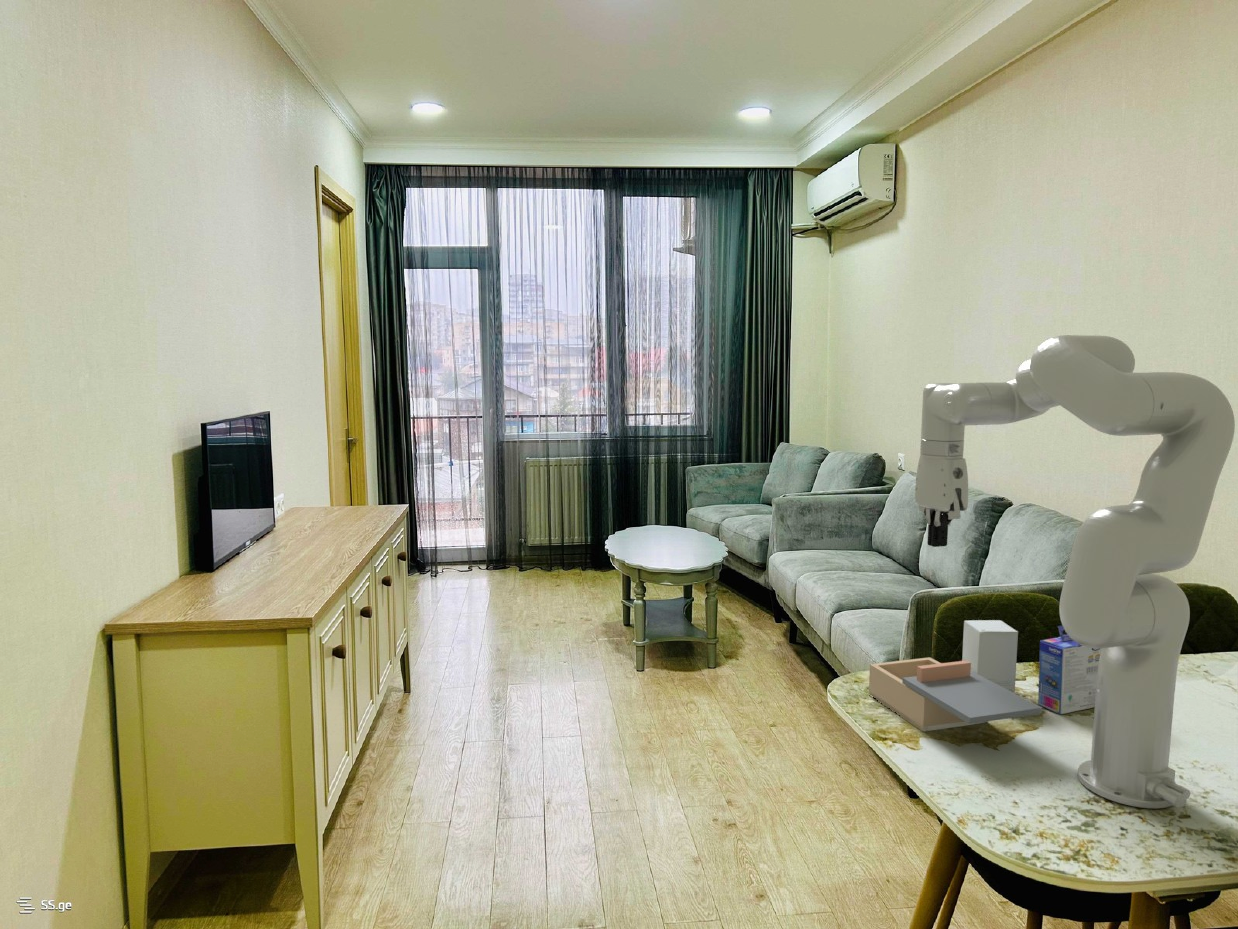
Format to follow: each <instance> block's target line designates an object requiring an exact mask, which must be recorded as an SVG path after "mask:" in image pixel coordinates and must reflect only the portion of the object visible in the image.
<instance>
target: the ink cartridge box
mask: <svg viewBox="0 0 1238 929" xmlns="http://www.w3.org/2000/svg"><path fill="white" fill-rule="evenodd" d="M1057 630H1058V633H1059V636H1058V637H1053V638H1047V639H1041V640H1040V641H1039V664H1038V665H1039V666H1038V667H1039V668H1038V669H1039V670H1038V697H1037V698H1038V699H1037V700H1038V701H1037V703H1038V704H1037V705H1038V706H1040V707H1042V708H1046V709H1048V710H1050V711H1052V712H1054V713H1057V714H1058V715H1064V714H1065V715H1066V714H1070V713H1074V712H1079V711H1082V710H1086V709H1093V708H1095V696H1096V682H1097V671H1098V663H1099V658H1100V655H1101V652H1102V649H1103V648H1089V647H1085V646H1082V645H1080V644H1078V643H1076V642H1075V641H1074V640H1073V639H1071V638H1070V637H1069V636H1068V634H1067V633H1063V632H1064V631H1065V629H1064V627H1063V625H1059V626H1058V625H1057Z"/></svg>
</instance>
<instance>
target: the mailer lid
mask: <svg viewBox="0 0 1238 929" xmlns="http://www.w3.org/2000/svg"><path fill="white" fill-rule="evenodd" d="M902 683H903V684H904V685H906V686H908V687H909V688H911V689H913V690H914V691H916V692H918V693H919V694H921V695H922V696H924V697H926V698H927V699H929V700H931V701H932V702H934V703H936V704H937V705H939V706H941V707H942V708H944V709H946V710H947V711H949V712H950V713H952V714H954V715H955V716H957V717H959V718H960V719H962V720H964V721H965V722H967V723H969V724H973V725H975V724H974V723H980V724H982V723H981V722H987V723H988V722H993V721H1000V720H1007V719H1008V720H1009V719H1014V718H1021V717H1029V716H1035V715H1041V714H1043V706H1041V705H1039V704H1037V703H1034V702H1032V701H1030V700H1028V699H1026V698H1024V697H1022V696H1021V695H1019V694H1017V693H1016V692H1015V693H1013V692H1011V691H1009V690H1007V689H1005V688H1003V687H1001V686H999V685H997V684H995V683H994V682H992V681H990V680H988V679H986V678H984V677H982V676H980V675H978V674H976V673H974V672H972V671H971V663H970V662H968V661H962V660H959V661H951V662H940V664H932V665H923V666H917V676H914V677H905V678H903V682H902Z"/></svg>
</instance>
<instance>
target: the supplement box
mask: <svg viewBox="0 0 1238 929" xmlns="http://www.w3.org/2000/svg"><path fill="white" fill-rule="evenodd" d="M962 635H963V636H962V637H963V638H962V659H961V661H968V662H970V663H971V671H972V672H974V673H976V674H978V675H980V676H982V677H984V678H986V679H988V680H990V681H992V682H994V683H995V684H997V685H999V686H1001V687H1003V688H1005V689H1007V690H1009V691H1011V692H1013V693H1015V694H1016V691H1015V690H1016V676H1017V674H1016V673H1017V660H1018V659H1017V656H1018V638H1019V637H1018V636H1019V631H1018V630H1016V629H1014V628H1013V627H1012V626H1010V625H1008V624H1007V623H1005V622H1004V621H1003V620H1000V619H998V620H997V619H996V620H995V619H992V620H991V619H988V620H987V619H986V620H984V619H983V620H982V619H978V620H977V619H976V620H975V619H972V620H964V621H963V634H962Z"/></svg>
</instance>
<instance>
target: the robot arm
mask: <svg viewBox="0 0 1238 929" xmlns="http://www.w3.org/2000/svg"><path fill="white" fill-rule="evenodd" d="M1135 367H1136V360H1135V355H1134V353H1133V351H1132V349H1131V348H1130V347H1129V345H1127V344H1126V343H1125V342H1123V341H1122V340H1120V339H1118V338H1115V337H1112V336H1107V335H1081V334H1080V335H1079V334H1077V335H1076V334H1074V335H1071V334H1070V335H1057V336H1054V337H1051V338H1049V339H1047V340H1045V341H1043V342H1042V343H1041V344H1039V346H1037V348H1035V350H1034V351H1033V354H1032V356H1031V357H1030V358H1029V359H1026V360H1025V361H1024V362H1022V363H1021V364H1020V365H1019V367H1018V369H1017V370H1016V373H1015V379H1013V380H1008V381H1003V382H994V381H993V382H987V381H986V382H959V383H957V382H955V383H954V382H933V383H928V384H927V385H925V387H924V388H923V390H922V403H921V404H922V407H921V408H922V409H921V411H922V412H921V430H920V452H919V453H920V455H919V458H918V463H917V469H916V475H915V476H916V477H915V484H914V485H915V487H914V490H915V491H914V499H915V500H914V501H915V502H916V504H918V510H919V511H921V512H922V513H924V515H925V521H926V524H927V525H928V527H927V546H930V547H933V548H939V547H947V546H948V534H949V533H948V532H949V527H950V526H951V524H952V521H953V520H958V519H959V520H960V519H961V516H962V514H961V512H964V511H967V510H968V506H969V474H968V466H967V460H966V458H964V446H965V445H964V444H965V430H966V429H965V427H966V426H984V425H985V426H987V425H992V426H993V425H994V426H995V425H1006V424H1012V423H1017V422H1021V421H1024V420H1028V419H1031V418H1036V417H1038V416H1041V415H1044V414H1045V413H1046V412H1048V411H1049V410H1050V409H1052V408H1054V407H1055V408H1056V407H1058V406H1061V407H1062V408H1064V410H1066V411H1067V412H1069V413H1070V414H1071V415H1073V416H1075V417H1076V418H1077V419H1079V420H1081V421H1082V422H1083V423H1085V424H1086V425H1088V426H1089V427H1090V428H1093V429H1094V430H1096V431H1098V432H1099V433H1103V434H1105V435H1110V436H1118V437H1126V436H1130V437H1131V436H1151V435H1161V436H1162V441H1161V443H1160V444H1159V445H1158V447H1157V448H1156V449H1155V450H1154V451H1153V453H1151V456H1150V457H1149V458H1148V459H1147V461H1146V463H1145V465H1144V467H1143V469H1142V472H1141V473H1140V479H1139V483H1138V488H1137V490H1136V493H1135V496H1134V498H1133V499H1132V501H1131V503H1129V504H1121V505H1112V506H1107V507H1103V508H1100V509H1097V510H1095V511H1094V512H1093V513H1091V514H1090V515H1088V517H1087V518H1086V519H1085V520H1084V521H1083V522H1082V524H1080V526H1079V529H1078V530H1077V532H1076V535H1075V539H1074V542H1073V546H1072V549H1071V554H1070V556H1069V557H1070V558H1069V561H1068V565H1067V570H1066V572H1065V577H1064V581H1063V585H1062V589H1061V594H1060V599H1059V608H1058V609H1059V617H1060V618H1059V619H1060V622H1061V626H1063V627H1064V629H1065V630H1064V631H1065V634H1068V636H1069V637H1070V638H1071V639H1073V640H1074V641H1075V642H1076V643H1078V644H1080V645H1082V646H1085V647H1089V648H1102V652H1101V655H1100V658H1099V663H1098V671H1097V682H1096V696H1095V707H1094V713H1093V726H1092V741H1091V754H1090V760H1087V761H1084V762H1082V763H1081V764H1080V765H1079V766H1078V767H1077V778H1078V780H1079V782H1080V783H1081V784H1082V785H1083V786H1084V787H1085V788H1086V789H1087V790H1089V791H1091V792H1092V793H1094V794H1096V795H1098V796H1100V797H1102V798H1105V799H1106V800H1109V801H1112V802H1115V803H1118V804H1121V805H1126V806H1130V807H1135V808H1140V809H1141V808H1142V809H1164V808H1165V809H1166V808H1169V807H1172V806H1174V807H1176V808H1177V809H1181V808H1183V807H1184V806H1185V805H1186V802H1187V799H1189V798H1190V797H1191V795H1192V794H1191V790H1190V789H1188V788H1187V787H1184V786H1183V785H1179V784H1177V783H1176V781H1175V779H1176V770H1175V769H1174V768H1171V767H1169V763H1170V754H1171V753H1170V752H1171V741H1172V740H1171V739H1172V730H1173V728H1172V726H1173V717H1174V716H1173V715H1174V705H1175V704H1174V703H1175V692H1176V687H1177V686H1176V685H1177V684H1176V683H1177V674H1178V667H1179V666H1178V665H1179V660H1180V656H1181V650H1182V647H1183V643H1184V641H1185V637H1186V634H1187V633H1188V632H1187V631H1188V627H1189V624H1190V615H1191V614H1190V613H1191V611H1190V604H1189V600H1188V597H1187V596H1186V593H1185V592H1184V591H1183V590H1182V588H1181V587H1180V586H1179V585H1178V584H1177V583H1176V582H1174V581H1173V580H1171V579H1169V578H1168V577H1166V576H1162V575H1159V573H1166V572H1172V571H1177V570H1180V569H1182V568H1184V567H1185V568H1186V566H1188V565H1189V564H1190V563H1191V562H1192V561H1193V559H1194V558H1195V556H1196V554H1197V551H1198V548H1199V546H1200V544H1201V543H1200V542H1201V539H1202V536H1203V533H1204V529H1205V526H1206V523H1207V520H1208V516H1209V513H1210V510H1211V506H1212V504H1213V499H1214V495H1215V491H1216V488H1217V485H1218V482H1219V479H1220V476H1221V473H1222V471H1223V468H1224V465H1225V463H1226V460H1227V459H1228V456H1229V453H1230V451H1231V448H1232V445H1233V442H1234V437H1235V436H1234V435H1235V428H1236V423H1235V422H1236V421H1235V415H1234V411H1233V408H1232V405H1231V403H1230V402H1229V400H1228V398H1227V397H1226V395H1225V394H1224V392H1223V391H1222V390H1221V389H1220V388H1219V387H1218V386H1217V385H1216V384H1214V383H1213V382H1211V381H1209V380H1208V379H1206V378H1203V377H1200V376H1197V375H1196V374H1191V373H1184V372H1174V371H1173V372H1171V371H1154V372H1153V371H1151V372H1134V370H1135ZM1157 573H1158V574H1157Z"/></svg>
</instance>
